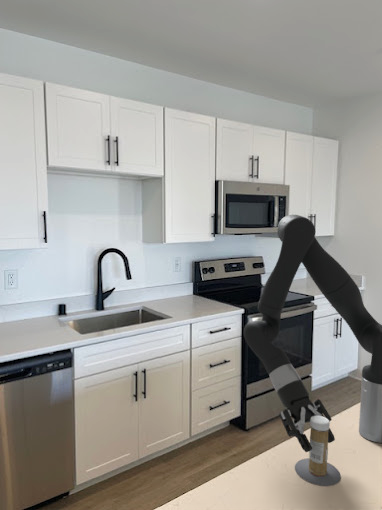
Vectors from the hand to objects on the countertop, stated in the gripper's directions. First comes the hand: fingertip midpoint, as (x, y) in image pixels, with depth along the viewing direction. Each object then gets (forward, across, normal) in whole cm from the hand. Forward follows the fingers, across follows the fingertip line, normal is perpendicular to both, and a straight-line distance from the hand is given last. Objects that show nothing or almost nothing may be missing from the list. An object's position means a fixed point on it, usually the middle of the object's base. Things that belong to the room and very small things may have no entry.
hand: (320, 446), depth 96 cm
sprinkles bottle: (+4, 0, +5) cm, 7 cm away
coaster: (+4, 0, +5) cm, 7 cm away
